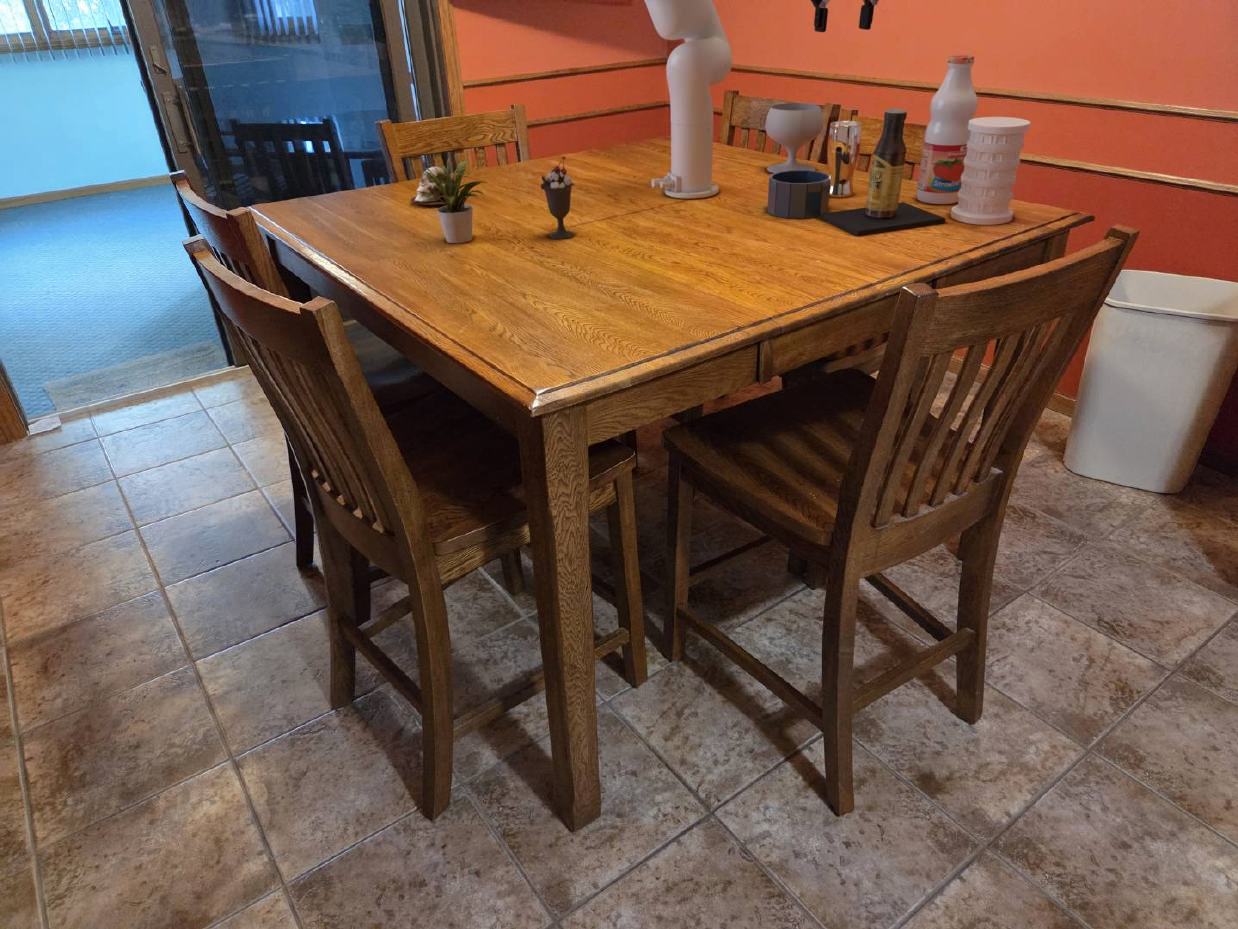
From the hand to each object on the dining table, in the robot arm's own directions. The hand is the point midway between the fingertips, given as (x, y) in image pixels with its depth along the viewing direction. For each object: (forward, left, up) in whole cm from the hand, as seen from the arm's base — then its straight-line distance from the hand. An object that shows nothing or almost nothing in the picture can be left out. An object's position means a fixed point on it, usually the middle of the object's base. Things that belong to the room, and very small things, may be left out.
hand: (842, 30), depth 156 cm
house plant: (-78, +13, -34) cm, 86 cm away
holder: (-6, +2, -34) cm, 34 cm away
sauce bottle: (+5, -13, -33) cm, 36 cm away
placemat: (+5, -13, -34) cm, 37 cm away
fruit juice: (+25, -4, -34) cm, 43 cm away
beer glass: (+9, +10, -34) cm, 37 cm away
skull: (-77, +48, -34) cm, 97 cm away
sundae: (-57, +7, -34) cm, 67 cm away
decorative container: (+24, -19, -34) cm, 46 cm away
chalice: (+11, +36, -34) cm, 50 cm away
